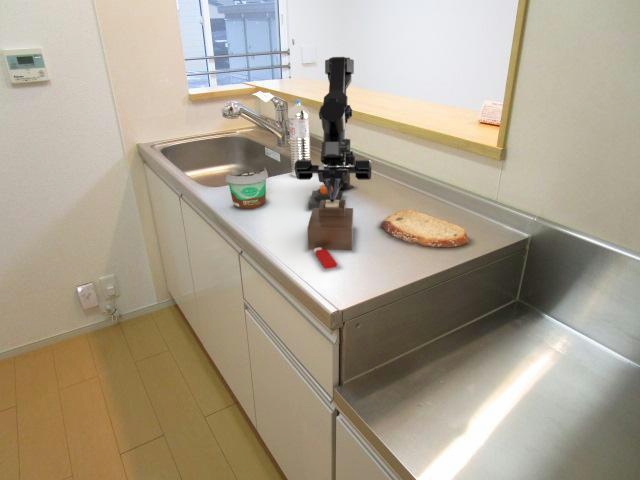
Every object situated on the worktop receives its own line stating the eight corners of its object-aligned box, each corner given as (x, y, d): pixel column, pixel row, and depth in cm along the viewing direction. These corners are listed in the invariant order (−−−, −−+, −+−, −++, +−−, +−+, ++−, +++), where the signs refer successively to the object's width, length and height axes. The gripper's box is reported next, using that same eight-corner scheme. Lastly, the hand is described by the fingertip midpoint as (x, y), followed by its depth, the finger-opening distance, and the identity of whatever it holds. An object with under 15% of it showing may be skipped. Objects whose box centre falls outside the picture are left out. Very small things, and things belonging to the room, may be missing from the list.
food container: (235, 214, 124) (231, 179, 120) (228, 207, 129) (224, 174, 125) (276, 205, 129) (274, 172, 125) (268, 199, 134) (266, 166, 130)
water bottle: (311, 177, 152) (308, 101, 142) (290, 177, 153) (286, 101, 142) (311, 171, 159) (308, 97, 148) (292, 171, 159) (288, 98, 148)
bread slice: (473, 245, 103) (475, 230, 102) (398, 253, 101) (399, 238, 100) (442, 215, 119) (444, 202, 118) (377, 221, 117) (377, 208, 116)
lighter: (324, 264, 95) (313, 248, 102) (324, 269, 95) (313, 253, 102) (336, 262, 96) (325, 246, 102) (336, 267, 96) (325, 251, 103)
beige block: (326, 208, 111) (326, 199, 110) (339, 208, 111) (339, 199, 110) (325, 213, 108) (325, 204, 107) (338, 213, 108) (338, 204, 107)
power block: (313, 196, 136) (312, 185, 134) (342, 196, 135) (342, 185, 133) (308, 210, 126) (308, 198, 124) (341, 210, 125) (340, 198, 124)
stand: (314, 227, 115) (313, 199, 112) (353, 227, 114) (353, 200, 111) (308, 250, 104) (307, 220, 101) (351, 250, 103) (352, 220, 100)
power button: (320, 190, 131) (320, 184, 130) (332, 190, 130) (332, 184, 130) (319, 195, 128) (319, 189, 127) (332, 195, 127) (331, 189, 126)
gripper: (293, 126, 107) (288, 186, 102) (372, 126, 105) (371, 186, 100) (299, 151, 117) (295, 206, 112) (371, 150, 116) (370, 206, 110)
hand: (332, 201), depth 108 cm, fingers closed, pressing on beige block
